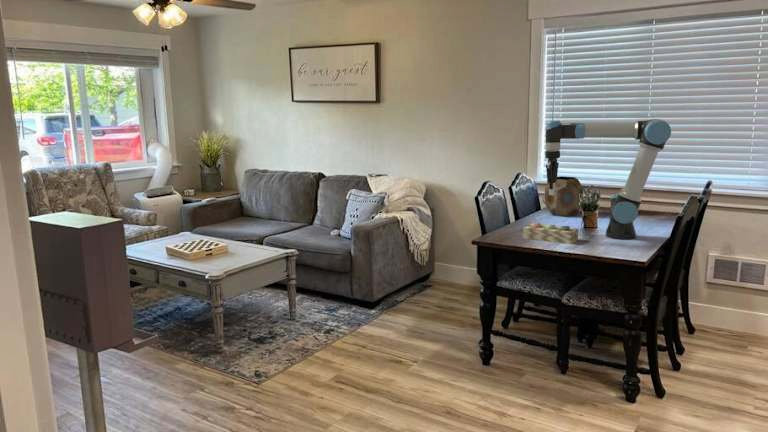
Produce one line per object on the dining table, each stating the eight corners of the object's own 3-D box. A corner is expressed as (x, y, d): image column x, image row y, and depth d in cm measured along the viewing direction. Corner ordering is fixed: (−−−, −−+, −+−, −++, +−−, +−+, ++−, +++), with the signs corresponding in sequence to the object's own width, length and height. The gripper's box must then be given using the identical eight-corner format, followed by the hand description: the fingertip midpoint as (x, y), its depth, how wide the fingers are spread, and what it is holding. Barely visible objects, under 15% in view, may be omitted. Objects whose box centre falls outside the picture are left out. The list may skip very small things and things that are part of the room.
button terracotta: (541, 230, 314) (541, 223, 313) (538, 232, 310) (538, 224, 310) (533, 229, 317) (533, 222, 316) (530, 231, 313) (530, 224, 312)
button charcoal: (570, 233, 305) (571, 226, 304) (567, 235, 301) (568, 228, 300) (562, 232, 307) (562, 225, 307) (559, 234, 304) (559, 227, 303)
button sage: (556, 232, 309) (556, 224, 309) (552, 233, 306) (553, 226, 305) (547, 231, 312) (547, 224, 311) (544, 232, 308) (544, 225, 308)
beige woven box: (577, 239, 307) (578, 228, 306) (570, 244, 297) (570, 232, 296) (531, 234, 322) (531, 223, 321) (522, 238, 313) (523, 227, 311)
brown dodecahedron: (539, 215, 376) (540, 179, 371) (553, 209, 395) (554, 175, 390) (573, 218, 362) (574, 181, 358) (585, 212, 381) (587, 176, 377)
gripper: (550, 149, 308) (549, 192, 312) (541, 151, 298) (540, 196, 302) (564, 149, 304) (562, 193, 308) (555, 151, 293) (554, 197, 298)
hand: (551, 194), depth 305 cm, fingers closed
